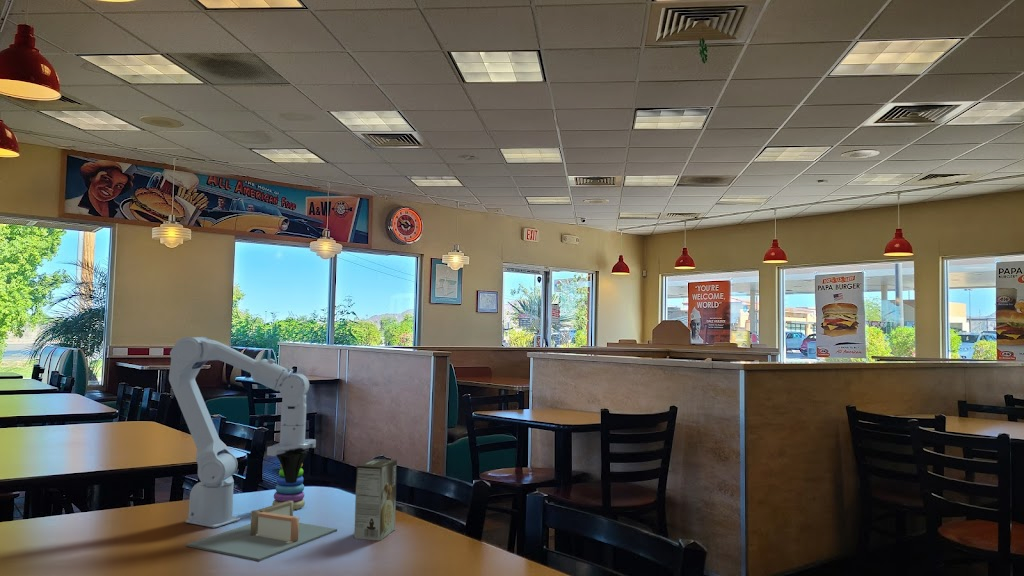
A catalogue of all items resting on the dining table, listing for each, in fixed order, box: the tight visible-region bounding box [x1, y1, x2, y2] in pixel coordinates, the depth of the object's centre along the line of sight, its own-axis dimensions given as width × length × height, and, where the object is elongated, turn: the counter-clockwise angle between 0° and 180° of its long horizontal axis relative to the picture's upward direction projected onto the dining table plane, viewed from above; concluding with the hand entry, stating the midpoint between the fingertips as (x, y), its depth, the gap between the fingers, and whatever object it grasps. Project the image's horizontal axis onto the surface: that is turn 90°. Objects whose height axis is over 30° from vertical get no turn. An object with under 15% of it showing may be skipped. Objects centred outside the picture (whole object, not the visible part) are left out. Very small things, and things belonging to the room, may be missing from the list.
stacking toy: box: [271, 463, 306, 511], centre depth 182 cm, size 8×8×19 cm
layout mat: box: [186, 522, 338, 562], centre depth 154 cm, size 20×24×1 cm
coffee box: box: [353, 458, 398, 542], centre depth 160 cm, size 9×6×16 cm
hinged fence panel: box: [257, 512, 300, 541], centre depth 153 cm, size 10×2×5 cm, turn 68°
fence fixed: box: [250, 501, 294, 536], centre depth 161 cm, size 2×12×5 cm, turn 156°
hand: (290, 482), depth 167 cm, fingers closed
